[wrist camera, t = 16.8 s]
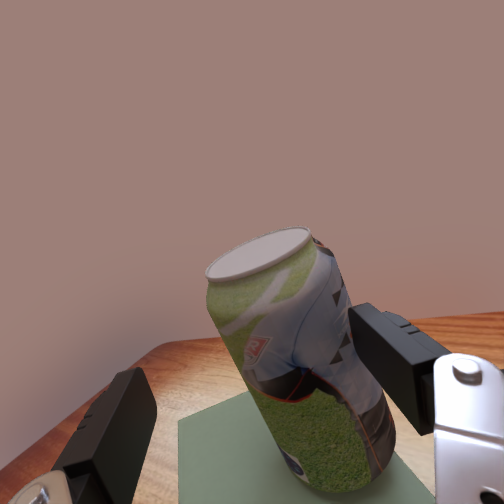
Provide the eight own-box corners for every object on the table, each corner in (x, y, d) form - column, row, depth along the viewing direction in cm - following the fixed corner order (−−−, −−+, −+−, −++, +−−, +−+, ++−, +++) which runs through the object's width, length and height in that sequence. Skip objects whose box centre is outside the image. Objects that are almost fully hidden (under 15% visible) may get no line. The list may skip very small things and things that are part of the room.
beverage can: (430, 471, 13) (400, 217, 10) (283, 552, 11) (196, 283, 8) (349, 384, 19) (316, 210, 16) (247, 429, 17) (189, 248, 14)
